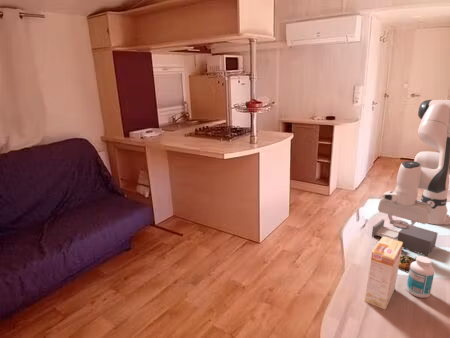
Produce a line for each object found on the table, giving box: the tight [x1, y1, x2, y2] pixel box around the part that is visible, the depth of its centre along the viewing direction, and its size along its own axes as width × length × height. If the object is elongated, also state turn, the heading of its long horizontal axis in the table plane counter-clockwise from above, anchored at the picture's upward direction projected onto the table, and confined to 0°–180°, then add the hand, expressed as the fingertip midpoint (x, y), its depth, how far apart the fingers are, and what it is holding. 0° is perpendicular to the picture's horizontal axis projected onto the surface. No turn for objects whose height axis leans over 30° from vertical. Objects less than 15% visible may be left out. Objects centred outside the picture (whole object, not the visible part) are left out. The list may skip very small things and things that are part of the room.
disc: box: [392, 219, 409, 230], centre depth 141 cm, size 6×6×2 cm
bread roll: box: [398, 254, 416, 273], centre depth 131 cm, size 11×11×5 cm
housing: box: [397, 225, 439, 257], centre depth 147 cm, size 13×13×7 cm
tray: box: [371, 218, 400, 240], centre depth 155 cm, size 13×13×6 cm
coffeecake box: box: [364, 237, 403, 310], centre depth 109 cm, size 15×7×20 cm, turn 141°
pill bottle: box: [406, 255, 435, 299], centre depth 112 cm, size 8×7×14 cm
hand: (400, 226), depth 141 cm, fingers closed on disc, 6 cm apart
